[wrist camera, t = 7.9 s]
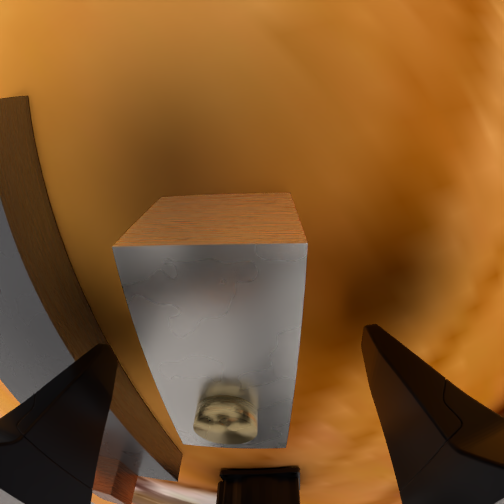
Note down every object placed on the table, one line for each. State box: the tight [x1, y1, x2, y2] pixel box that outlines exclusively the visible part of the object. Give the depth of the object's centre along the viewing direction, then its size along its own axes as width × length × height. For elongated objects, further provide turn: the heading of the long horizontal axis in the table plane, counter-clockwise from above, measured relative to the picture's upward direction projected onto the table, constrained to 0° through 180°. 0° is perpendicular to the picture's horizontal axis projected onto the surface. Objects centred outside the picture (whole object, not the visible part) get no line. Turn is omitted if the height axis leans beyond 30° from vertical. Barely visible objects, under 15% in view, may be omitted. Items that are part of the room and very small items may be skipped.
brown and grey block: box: [112, 193, 308, 448], centre depth 9 cm, size 9×4×5 cm, turn 2°
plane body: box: [0, 96, 182, 504], centre depth 11 cm, size 24×9×6 cm, turn 8°
